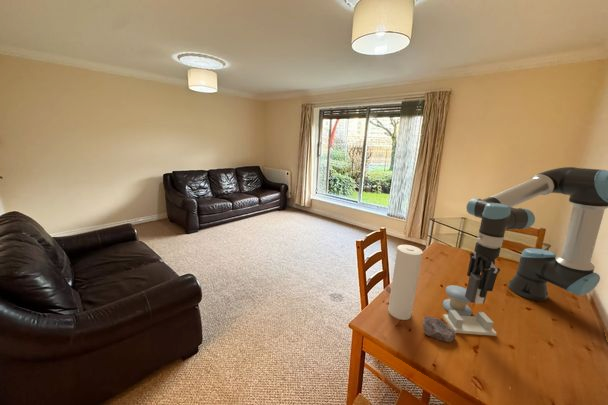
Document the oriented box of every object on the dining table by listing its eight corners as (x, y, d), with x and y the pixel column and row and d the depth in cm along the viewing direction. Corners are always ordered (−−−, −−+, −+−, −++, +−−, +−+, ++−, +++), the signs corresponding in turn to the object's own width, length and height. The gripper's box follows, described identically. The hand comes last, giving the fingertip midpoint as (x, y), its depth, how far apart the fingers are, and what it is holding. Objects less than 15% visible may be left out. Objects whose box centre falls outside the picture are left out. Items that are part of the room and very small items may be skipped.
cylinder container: (413, 321, 101) (425, 254, 94) (389, 317, 103) (399, 251, 96) (408, 307, 110) (419, 245, 103) (386, 303, 112) (396, 242, 105)
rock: (455, 348, 89) (457, 337, 88) (420, 335, 95) (422, 325, 93) (454, 334, 96) (456, 324, 95) (422, 322, 101) (424, 313, 100)
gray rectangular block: (477, 297, 99) (483, 274, 97) (484, 303, 96) (490, 280, 93) (465, 296, 100) (470, 274, 97) (471, 302, 96) (476, 279, 93)
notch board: (481, 319, 105) (483, 309, 103) (496, 335, 96) (499, 325, 95) (442, 316, 105) (444, 307, 104) (454, 332, 96) (456, 322, 95)
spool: (462, 302, 116) (465, 286, 114) (476, 318, 105) (481, 301, 103) (438, 300, 116) (441, 284, 114) (450, 316, 106) (454, 299, 103)
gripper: (464, 235, 100) (453, 286, 106) (493, 254, 84) (478, 313, 89) (483, 236, 100) (471, 287, 106) (516, 255, 83) (499, 314, 89)
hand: (474, 299), depth 98 cm, fingers closed on gray rectangular block, 4 cm apart
